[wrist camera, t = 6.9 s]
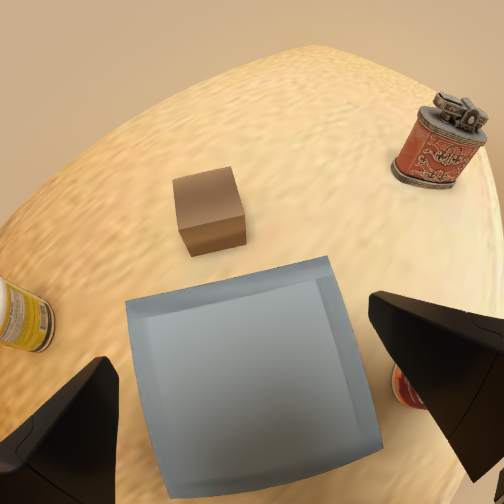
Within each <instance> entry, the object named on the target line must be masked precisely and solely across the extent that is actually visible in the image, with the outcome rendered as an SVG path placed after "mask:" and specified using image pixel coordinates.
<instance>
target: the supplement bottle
mask: <svg viewBox="0 0 504 504" xmlns="http://www.w3.org/2000/svg"><path fill="white" fill-rule="evenodd" d="M53 331H54V316H53V312H52V309H51V307H50V305H49V304H48V303H47V302H46V301H45V300H44V299H42V298H40V297H39V296H36V295H35V294H33V293H31V292H29V291H27V290H25V289H23V288H21V287H19V286H17V285H15V284H14V283H12V282H10V281H8V280H7V279H5V278H3V277H2V276H0V344H3V345H6V346H10V347H14V348H18V349H22V350H26V351H30V352H40V351H42V350H44V349H45V348H46V347H47V346H48V344H49V343H50V341H51V338H52V335H53Z"/></svg>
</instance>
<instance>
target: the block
mask: <svg viewBox="0 0 504 504" xmlns="http://www.w3.org/2000/svg"><path fill="white" fill-rule="evenodd" d="M173 190H174V199H175V208H176V216H177V224H178V230H179V232H180V235H181V237H182V239H183V241H184V243H185V245H186V247H187V249H188V251H189V253H190V255H191V257H194V256H198V255H203V254H207V253H211V252H215V251H220V250H224V249H228V248H233V247H237V246H241V245H246V230H245V214H244V211H243V207H242V204H241V200H240V197H239V193H238V190H237V186H236V183H235V179H234V176H233V172H232V169H231V166H230V167H225V168H221V169H216V170H211V171H207V172H202V173H198V174H194V175H190V176H185V177H181V178H177V179H173Z"/></svg>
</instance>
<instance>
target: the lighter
mask: <svg viewBox="0 0 504 504" xmlns="http://www.w3.org/2000/svg"><path fill="white" fill-rule="evenodd" d="M433 103H434V105H435V106H436V107H437V108H435V107H428V106H421V107H420V109H419V111H418V114H417V117H418V119H417V121H416V123H415V125H414V127H413V129H412V131H411V133H410V135H409V137H408V139H407V140H406V142H405V144H404V146H403V148H402V150H401V152H400V154H399V156H398V157H396V158H395V159H394V161H393V163H392V165H391V172H392V173H393V175H394V176H395V178H396V179H397V180H399V181H400V182H402V183H406V184H409V185H413V186H416V187H421V188H426V189H437V190H442V189H450V188H452V186H453V185H454V184H455V182H456V178H457V177H458V176H459V175H460V173H461V172H462V171H463V169H464V168H465V167H466V165H467V164H468V163H469V161H470V160H471V159H472V157H473V156H474V155H475V153H476V152H477V151H478V149H479V148H480V146H481V147H482V146H484V144H485V143H486V141H487V137H486V135H485V133H484V132H483V131H482V130H481V127H482V126H483V125H485V123H486V122H487V120H488V119H489V117H488V115H487V114H486V113H485V112H484V111H483V110H481V109H480V108H477V107H475V106H474V105H473V103H472V102H471V101H470V100H469V99H468V98H462V99H461V100H459V98H457V97H454V96H452V95H449V94H446V93H444V92H440V93H439V92H437V94H436V96H435V98H434V100H433Z"/></svg>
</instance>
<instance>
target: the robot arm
mask: <svg viewBox="0 0 504 504" xmlns="http://www.w3.org/2000/svg"><path fill="white" fill-rule="evenodd" d="M368 316H369V320H370V322H371V323H372V325H373V327H374V329H375V330H376V332H377V334H378V336H379V337H380V339H381V341H382V343H383V344H384V346H385V348H386V350H387V351H388V353H389V354H390V356H391V357H392V359H393V360H394V361H395V363H396V364H397V366H398V367H399V369H400V370H401V371H402V373H403V374H404V376H405V377H406V378H407V380H408V381H409V383H410V384H411V386H412V387H413V389H414V390H415V391H416V393H417V394H418V396H419V397H420V399H421V400H422V402H423V403H424V405H425V406H426V408H427V409H428V411H429V412H430V414H431V415H432V417H433V418H434V420H435V421H436V423H437V425H438V426H439V428H440V429H441V431H442V432H443V434H444V436H445V437H446V439H447V440H448V442H449V444H450V445H451V447H452V449H453V450H454V452H455V454H456V455H457V457H458V459H459V460H460V462H461V464H462V465H463V467H464V469H465V470H466V472H467V474H468V475H469V477H470V479H471V481H472V482H473V483H475V482H476V481H477V480H478V479H480V478H481V477H482V476H483V475H484V474H485V473H486V472H488V471H489V470H490V469H491V468H492V467H493V466H495V464H497V463H498V462H499V461H500V460H501V459H502V458H503V457H504V319H499V318H494V317H488V316H483V315H479V314H475V313H470V312H467V313H466V311H462V310H458V309H454V308H450V307H446V306H441V305H437V304H433V303H429V302H425V301H421V300H417V299H413V298H409V297H405V296H401V295H397V294H393V293H389V292H385V291H377V292H374V293H371V294H370V296H369V308H368ZM118 419H119V377H118V374H117V372H116V370H115V369H114V367H113V365H112V364H111V362H110V360H109V359H108V358H107V357H106V356H101V357H96V358H94V359H93V360H92V361H91V362H90V363H89V364H87V365H86V366H85V367H84V368H83V369H82V370H81V371H80V372H79V373H77V374H76V375H75V376H74V377H73V378H72V379H71V380H70V381H68V382H67V383H66V384H65V385H64V386H63V387H62V388H61V389H60V390H59V391H57V392H56V393H55V394H54V395H53V396H52V397H51V398H50V399H49V400H48V401H47V402H45V403H44V404H43V405H42V406H41V407H40V408H39V409H38V410H37V411H36V412H35V413H34V415H31V416H30V417H29V418H28V419H27V420H26V421H25V422H24V423H23V424H22V425H20V426H19V427H18V428H17V429H16V430H15V431H14V432H12V433H11V434H10V435H9V436H8V437H6V438H5V439H4V440H3V441H1V442H0V504H115V467H116V446H117V432H118ZM494 502H495V504H504V468H503V469H502V470H501V471H500V473H499V480H498V484H497V489H496V493H495V498H494Z"/></svg>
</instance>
